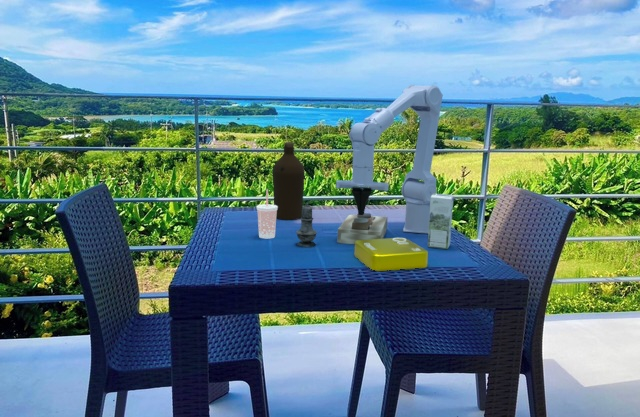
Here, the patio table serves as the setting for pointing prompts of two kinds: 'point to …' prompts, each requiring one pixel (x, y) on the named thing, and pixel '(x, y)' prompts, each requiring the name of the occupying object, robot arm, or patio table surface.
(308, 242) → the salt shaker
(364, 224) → the cube with pale circle
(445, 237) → the syrup box
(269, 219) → the beverage cup
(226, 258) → the patio table surface
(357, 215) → the beige grey-dot cube
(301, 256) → the patio table surface
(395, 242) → the element tile
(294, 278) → the patio table surface
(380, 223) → the grey square block
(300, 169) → the olive oil
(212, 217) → the patio table surface
